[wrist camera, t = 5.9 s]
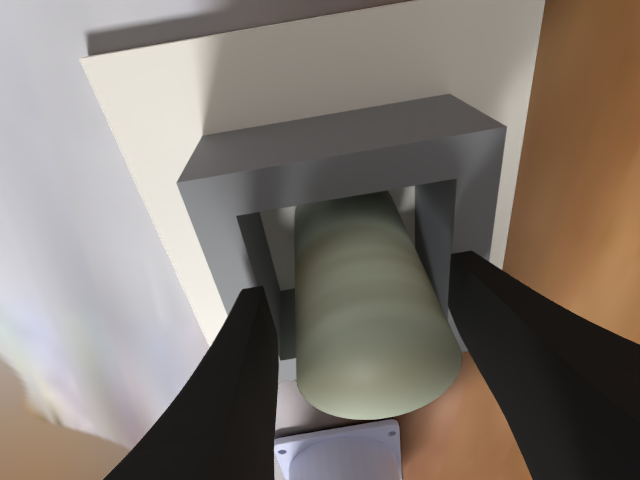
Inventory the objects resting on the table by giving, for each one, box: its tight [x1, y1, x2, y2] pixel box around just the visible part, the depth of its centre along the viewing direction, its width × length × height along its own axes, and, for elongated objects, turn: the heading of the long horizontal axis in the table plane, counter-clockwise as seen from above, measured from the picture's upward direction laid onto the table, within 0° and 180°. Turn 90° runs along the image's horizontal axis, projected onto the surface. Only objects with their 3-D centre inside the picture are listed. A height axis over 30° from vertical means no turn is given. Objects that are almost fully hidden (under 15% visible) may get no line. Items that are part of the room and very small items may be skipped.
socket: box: [79, 0, 545, 383], centre depth 14 cm, size 14×14×4 cm
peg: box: [294, 190, 462, 420], centre depth 12 cm, size 4×4×7 cm
